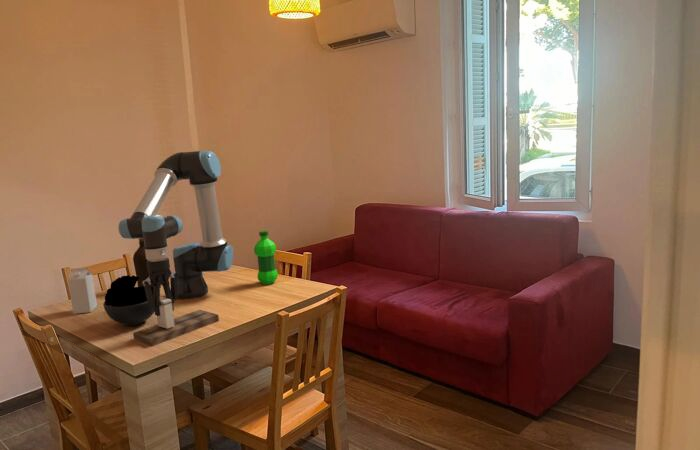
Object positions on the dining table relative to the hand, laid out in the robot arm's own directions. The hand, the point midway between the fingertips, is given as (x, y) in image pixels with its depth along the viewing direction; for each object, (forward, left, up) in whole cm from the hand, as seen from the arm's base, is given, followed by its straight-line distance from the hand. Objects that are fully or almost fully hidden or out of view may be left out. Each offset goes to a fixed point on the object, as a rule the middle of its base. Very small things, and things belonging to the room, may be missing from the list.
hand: (165, 321), depth 187 cm
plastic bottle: (-17, +64, -5) cm, 67 cm away
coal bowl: (-22, -1, -5) cm, 23 cm away
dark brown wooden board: (0, +4, -5) cm, 6 cm away
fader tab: (0, 0, -2) cm, 2 cm away
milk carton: (-58, -4, -5) cm, 58 cm away
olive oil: (-64, +29, -5) cm, 71 cm away
